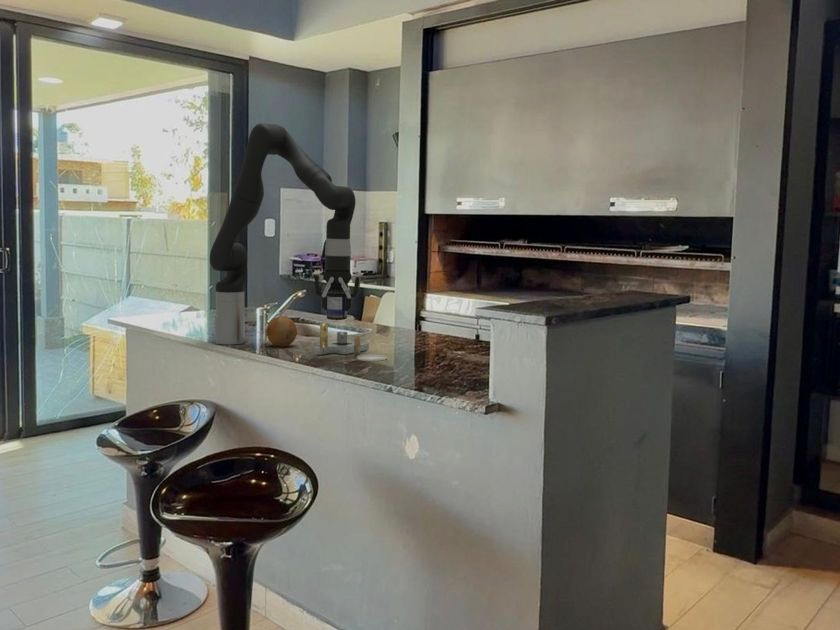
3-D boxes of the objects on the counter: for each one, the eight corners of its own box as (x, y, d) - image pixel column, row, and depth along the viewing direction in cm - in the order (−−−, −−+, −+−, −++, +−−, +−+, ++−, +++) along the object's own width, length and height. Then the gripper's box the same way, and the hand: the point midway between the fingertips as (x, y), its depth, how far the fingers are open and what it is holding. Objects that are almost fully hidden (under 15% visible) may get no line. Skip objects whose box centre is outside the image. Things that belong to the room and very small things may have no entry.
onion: (285, 343, 258) (285, 313, 257) (303, 346, 251) (303, 316, 250) (260, 346, 251) (260, 315, 250) (278, 349, 244) (278, 318, 243)
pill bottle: (336, 317, 235) (337, 281, 233) (351, 319, 231) (352, 282, 229) (322, 318, 230) (322, 282, 229) (336, 321, 226) (337, 283, 225)
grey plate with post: (340, 345, 253) (340, 317, 252) (368, 349, 246) (369, 320, 245) (302, 352, 239) (302, 322, 238) (331, 356, 232) (331, 326, 231)
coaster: (358, 361, 226) (358, 359, 226) (355, 356, 235) (355, 354, 235) (388, 361, 227) (388, 359, 227) (385, 356, 236) (385, 354, 236)
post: (337, 351, 243) (337, 332, 242) (336, 350, 246) (336, 331, 245) (347, 351, 243) (347, 332, 242) (346, 350, 246) (346, 331, 246)
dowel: (354, 356, 235) (354, 336, 234) (353, 355, 236) (354, 336, 236) (360, 356, 235) (360, 336, 234) (359, 355, 237) (359, 336, 236)
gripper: (311, 253, 225) (310, 310, 227) (359, 255, 224) (358, 312, 226) (317, 252, 232) (316, 308, 234) (364, 254, 231) (362, 309, 233)
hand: (337, 310), depth 230 cm, fingers closed on pill bottle, 6 cm apart
